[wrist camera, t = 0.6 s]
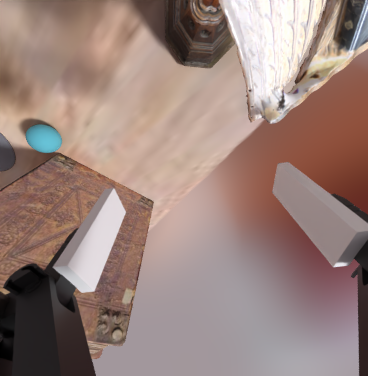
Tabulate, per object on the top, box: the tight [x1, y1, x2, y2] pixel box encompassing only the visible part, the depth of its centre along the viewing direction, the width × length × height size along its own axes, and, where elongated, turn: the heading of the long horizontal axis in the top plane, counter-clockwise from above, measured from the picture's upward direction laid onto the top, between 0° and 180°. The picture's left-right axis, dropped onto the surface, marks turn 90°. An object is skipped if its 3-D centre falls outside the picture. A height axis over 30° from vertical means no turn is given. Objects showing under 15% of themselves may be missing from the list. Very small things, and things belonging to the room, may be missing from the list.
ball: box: [26, 124, 62, 153], centre depth 32 cm, size 6×6×6 cm
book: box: [0, 153, 154, 359], centre depth 31 cm, size 25×9×30 cm, turn 53°
